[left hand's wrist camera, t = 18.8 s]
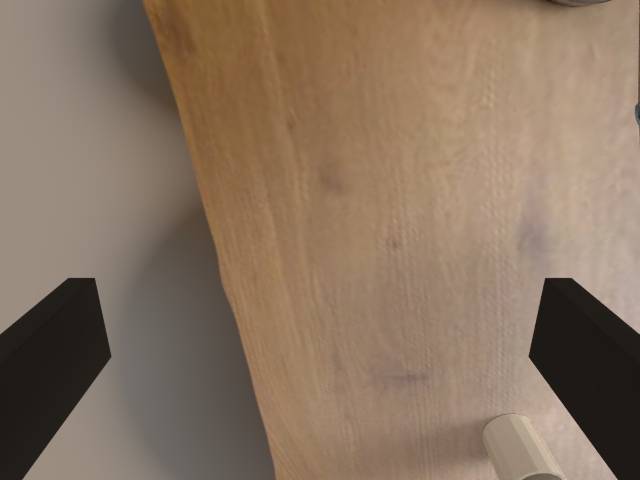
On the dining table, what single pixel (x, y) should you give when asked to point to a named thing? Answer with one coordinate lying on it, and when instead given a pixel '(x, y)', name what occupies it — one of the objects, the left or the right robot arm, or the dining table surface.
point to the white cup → (519, 450)
